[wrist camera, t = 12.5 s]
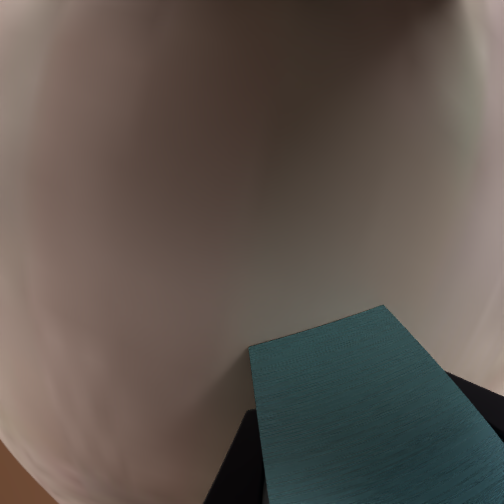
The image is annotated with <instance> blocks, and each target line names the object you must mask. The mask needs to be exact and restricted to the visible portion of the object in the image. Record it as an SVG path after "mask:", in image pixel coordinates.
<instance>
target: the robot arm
mask: <svg viewBox="0 0 504 504" xmlns="http://www.w3.org/2000/svg"><path fill="white" fill-rule="evenodd" d="M445 372H446V371H445ZM446 374H447V375H448V376H449V377H450V378H451V379H452V381H453V382H454V383H455V384H456V385H457V386H458V388H459V389H460V390H461V391H462V392H463V393H464V395H465V396H466V397H467V398H468V399H469V401H470V402H471V403H472V404H473V405H474V407H475V408H476V409H477V410H478V411H479V413H480V414H481V415H482V416H483V418H484V419H485V420H486V421H487V422H488V424H489V425H490V426H491V427H492V429H493V430H494V431H495V433H496V434H497V435H498V436H499V438H500V439H501V440H502V441H503V443H504V396H501V395H499V394H497V393H494V392H492V391H490V390H487V389H485V388H483V387H480V386H478V385H476V384H474V383H471V382H469V381H467V380H464V379H462V378H460V377H458V376H455V375H453V374H451V373H449V372H446ZM203 504H270V503H269V497H268V490H267V483H266V476H265V469H264V462H263V454H262V447H261V440H260V432H259V425H258V418H257V410H256V409H252V410H248V411H246V413H245V415H244V417H243V420H242V422H241V424H240V426H239V429H238V431H237V433H236V435H235V438H234V440H233V442H232V444H231V446H230V448H229V451H228V453H227V455H226V457H225V459H224V461H223V463H222V466H221V468H220V470H219V472H218V474H217V476H216V478H215V480H214V482H213V484H212V486H211V488H210V490H209V492H208V494H207V496H206V499H205V501H204V502H203Z"/></svg>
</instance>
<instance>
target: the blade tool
mask: <svg viewBox="0 0 504 504" xmlns="http://www.w3.org/2000/svg"><path fill="white" fill-rule="evenodd" d="M248 348H249V356H250V364H251V371H252V379H253V387H254V395H255V402H256V410H257V418H258V425H259V432H260V440H261V447H262V454H263V462H264V469H265V476H266V483H267V490H268V497H269V503H270V504H504V443H503V441H502V440H501V439H500V438H499V436H498V435H497V434H496V433H495V431H494V430H493V429H492V427H491V426H490V425H489V424H488V422H487V421H486V420H485V419H484V418H483V416H482V415H481V414H480V413H479V411H478V410H477V409H476V408H475V407H474V405H473V404H472V403H471V402H470V401H469V399H468V398H467V397H466V396H465V395H464V393H463V392H462V391H461V390H460V389H459V388H458V386H457V385H456V384H455V383H454V382H453V381H452V379H451V378H450V377H449V376H448V375H447V374H446V372H445V371H444V370H443V369H442V368H441V367H440V366H439V365H438V363H437V362H436V361H435V360H434V359H433V358H432V357H431V356H430V354H429V353H428V352H427V351H426V350H425V349H424V348H423V347H422V346H421V344H420V343H419V342H418V341H417V340H416V339H415V338H414V337H413V336H412V335H411V334H410V333H409V331H408V330H407V329H406V328H405V327H404V326H403V325H402V324H401V323H400V322H399V321H398V320H397V319H396V318H395V316H394V315H393V314H392V313H391V312H390V311H389V310H388V309H387V308H386V307H385V306H384V305H381V306H378V307H376V308H373V309H370V310H367V311H364V312H361V313H359V314H356V315H353V316H350V317H347V318H344V319H341V320H338V321H335V322H332V323H329V324H326V325H323V326H319V327H316V328H313V329H310V330H306V331H303V332H300V333H297V334H293V335H290V336H286V337H283V338H279V339H276V340H272V341H269V342H265V343H261V344H258V345H254V346H250V347H248Z"/></svg>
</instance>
